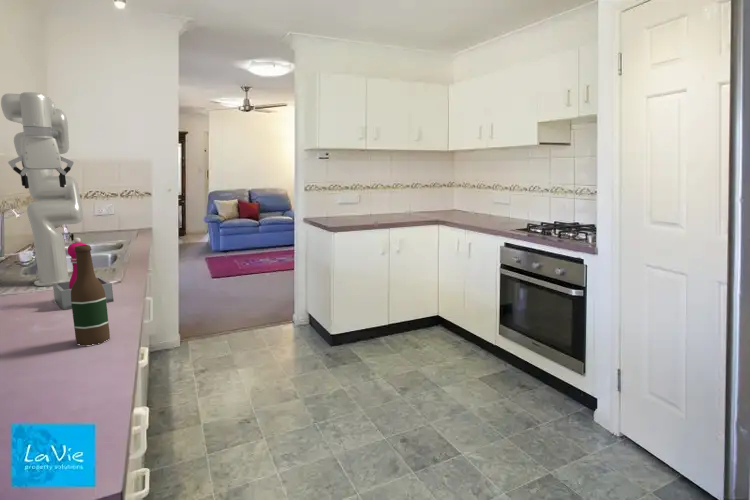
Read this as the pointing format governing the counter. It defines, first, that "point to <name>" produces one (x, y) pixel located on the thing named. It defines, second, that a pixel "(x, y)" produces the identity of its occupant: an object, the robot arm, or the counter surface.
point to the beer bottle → (88, 302)
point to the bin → (64, 293)
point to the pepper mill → (74, 260)
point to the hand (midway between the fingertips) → (45, 187)
